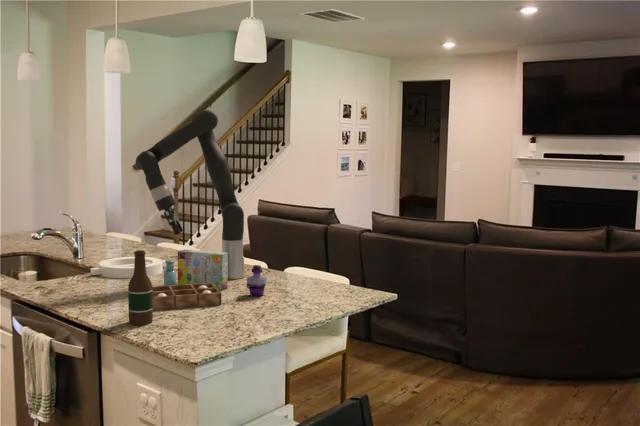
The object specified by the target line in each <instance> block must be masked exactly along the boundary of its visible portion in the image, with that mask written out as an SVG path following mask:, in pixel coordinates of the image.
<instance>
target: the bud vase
mask: <svg viewBox="0 0 640 426" xmlns="http://www.w3.org/2000/svg"><path fill="white" fill-rule="evenodd" d="M165 260H166V261H165V263H166V267H165V268H166V269H164V270H163V286H169V285H177V270H176V269H174V266H175V265H174V263H175V261H176V260H174V259H165Z"/></svg>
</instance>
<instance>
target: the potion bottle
mask: <svg viewBox="0 0 640 426" xmlns="http://www.w3.org/2000/svg"><path fill="white" fill-rule="evenodd" d="M251 273H253V275H251V276H247V277H246V289H248V291H249V293H250V295H249V296H250V297H253V298H260V297H264V293H265V288H266V284H267V280H268V277H267V276H264V275H261V273H263V268H262V266H261V265H259V264H258V265H257V264H254V265H253V268H251Z"/></svg>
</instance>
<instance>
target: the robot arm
mask: <svg viewBox="0 0 640 426" xmlns="http://www.w3.org/2000/svg"><path fill="white" fill-rule="evenodd" d="M218 122H219V119H218V116H217V113H215V111H213V110H210V109H204V110H201V111H198V112H196V113H194V115H193V116H192V120H191V122H189V123H188V124H187V125H185V126H183V127H182V128H180V129H178V130H176V131H174V132H172V133H170V134H169V135H166V136H165V137H163V138H162V139H161V140H160V141H158V142H156V143H155V144H154V145H153V146H151V147H150V148H148V149H146V150H144V151H142V152H140V153H139V154H138V155H137V156H136V158H135V165H136V167H137V169H139V170H141V171H143V173H144V175H145V183H146V186H147V187H148V189H149V191H150V194H151V197H152V199H153V201H154V203H155V206H156V209H157V210H158V212H162V211H164V212H163V215H164V216H165V218H166V221H167V224H168V225H169V227H170V228H171V229H172V231H173V233H174V235H175V236H176V235H180V234H181V233H182V232H183V231H184V230H183V227H182V224H181V222H180V218H179V216H178V215H177V214H178V213H177V212H176V210H175V208H173V206H175V205H177V203H176V201H175V199H174V196H173V194H172V192H171V190H170V188H169V187H168V185H167V183H166V180H165V178H164V176H163V175H162V172H161V169H160V164H159V162H160V161H163V160H164V159H166V158H168V157H169V156H171V155H172V154H174V153H175V152H177V151H178V150H179V149H181V148H182V147H184V146H185V145H186V144H188V143H189V142H190V141H192V140H194V139H196V138H197V139H198V142H199V144H200V148H201V151H202V155H203V158H204V161H205V164H206V169H207V171H208V174H209V178H210V180H211V183H212V185H213V188H214V190H215V192H216V194H217V196H218V201H219V207H220V212H221V217H222V233H221V243H222V244H221V248H222V249H221V252H224V253H228V280H239V279H242V278H243V279H244V278H245V257H244V241H243V240H244V230H245V229H244V228H245V213H244V210H243V207H241V206H240V203H239V202H238V200H237V197H236V195H235V192H234V187H233V180H232V179H233V178H232V174H231V170H230V165H229V162H228V159H227V157H226V155H225V153H224V152H223V150H222V149H221V147H220V146H219V144H218V142H217V139H216V137H215V134H214V131H213V130H214V129H215V128H217V125H218V124H219V123H218Z"/></svg>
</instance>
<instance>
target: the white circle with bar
mask: <svg viewBox="0 0 640 426" xmlns="http://www.w3.org/2000/svg"><path fill="white" fill-rule="evenodd" d="M166 260H167V259H165V260H162V259H160V258H156V257H148V256H145V264H146V273H147V276H148V277H152V276H156V275H159V274H161V273H162V272H163V268H166V263H165V261H166ZM134 263H135V256H125V257H123V256H122V257H114V258H110V259H109V258H108V259H104V260H102V261H100V262H98V267H92V268H90V274H91V275H93V276H95V275H100V276H101V277H104V278H105V277H106V278H110V279H131V278H132V277H133V274H134Z"/></svg>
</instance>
